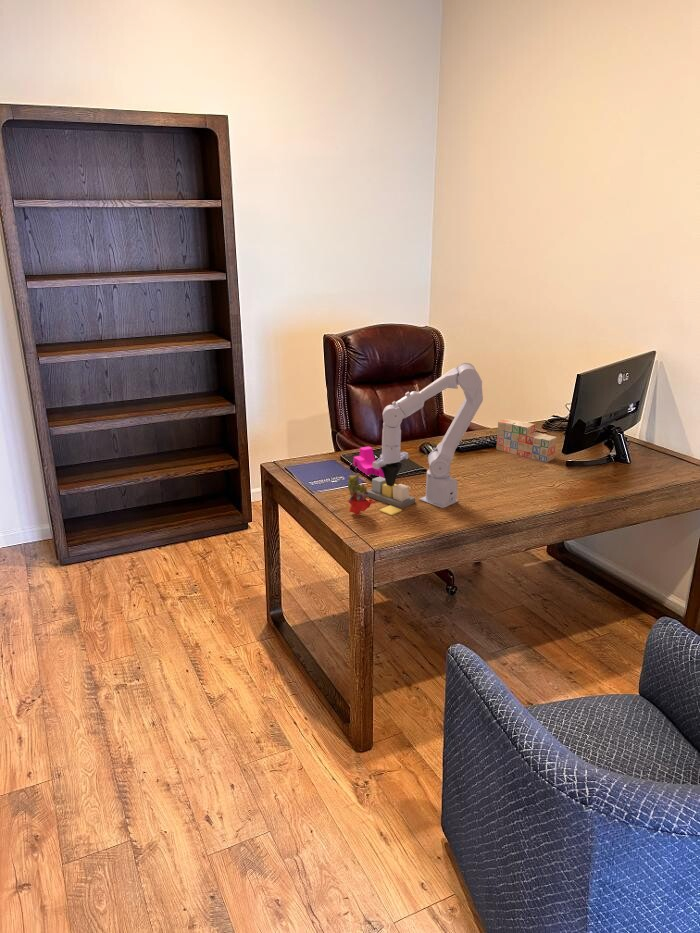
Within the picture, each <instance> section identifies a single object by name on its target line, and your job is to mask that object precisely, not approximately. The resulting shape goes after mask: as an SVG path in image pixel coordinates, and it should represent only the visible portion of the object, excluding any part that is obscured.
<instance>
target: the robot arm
mask: <svg viewBox="0 0 700 933" xmlns="http://www.w3.org/2000/svg"><path fill="white" fill-rule="evenodd" d="M459 386H460V388H461V389H462V391H463V395H464V400H463V402H462V403H461V405H460V407H459V409H458V411H457V412H456V414H455V416H454V418H453V419H452V422H451V424H450V426H449V427H448V429H447V431H446V433H445V434H444V436H443V437H442V440H441V441H440V442H439V443H438V444H437V446H436V447H435V449H433V450H432V451H431V452H430V453H429V454H428V456H427V462H428V466H429V468H428V469H427V471H426V481H425V496H422V497H420V498H419V501H421V502H425V503H427V504H430V505H433V506H435V507H437V508H438V507H439V508H441V509H445V508H446V507H449V506H451V505H453V504H456V503H458V502H459V500H458V498H457V497H458V480H456V478H454V477H453V476H451V472H450V470H451V464H452V461H453V460H454V456H455V451H456V449H457V448H458V446H459V444H460V443H461V441H462V439H463V437H464V435H465V434H466V432H467V431H468V428H469V426H470V424H471V423H472V421H473V420H474V417H475V415H476V414H477V412H478V410H479V409H480V406H481V405H482V403H483V400H484V396H483V381H482V379H481V376H480V374H479V372H477V370H476V368H475V366H474V365H473V364H472V363H469V362H463V363H460V364H459V365H457V367H456V366H455V367H453V368H451V369H449V370H448V371H447V372H446V373H444V374H442V375H441V376H440V377H439V378H437V379H435V380H434V381H433V382H431V383H429V384H428V385H427V386H425V387H423V388H422V389H421V390H420V391H416V390H413V391H411V392H410V391H407V392H405V394H404V396H403V397H401V398H400V399H398V400H397V401H395V400H393V401H392V402H391V404H388V405H386V406H385V407H384V408H383V411H382V413H381V414H382V421H383V423H382V436H381V453H380V455H379V458H378V459H375V460H376V461H375V462H373V468H374V469H379V468H381V469H382V471H383V473H384V476H385V480H386V484H387V485H389V486H393V485H394V484H396V483H395V482H396V480H397V477H398V476H397V475H398V474H399V471H400V470H401V468H403V464H402V462H401V461H402V460H408V459H409V452H406V451H401V446H402V444H401V441H402V430H401V423H402V422H403V419H407V418H408V417H409V416H411V415H413V414H414V413H416V412H417V411H419V410H421V409H422V408H424V405H425V402H426V401H427V400H430V398H433V397H434V396H436V395H438V394H439V393H441V392H443V391H445V390H447V389H456V390H458V389H459Z"/></svg>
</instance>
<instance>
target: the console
mask: <svg viewBox="0 0 700 933" xmlns="http://www.w3.org/2000/svg"><path fill="white" fill-rule="evenodd" d="M366 490H367V492H368V495H367V497H368V498H371V499H372V500H375V501H378V502H382V503H384V504H387V505H388V506H389V505H391V506H393V507H396V508H399V509H401V510H402V509H403V508H406V507H408V506H410V505H412V504H414V503H415V504H416V497H414V496H411V495H409V499H406V500H404V501H402V502H401V501H398V500H396V499H393V497H391V498H390V497H387V496H384V495H382V493H381V494H379V493H377V492H374V491H372V488H369V489H366Z"/></svg>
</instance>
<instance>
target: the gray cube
mask: <svg viewBox="0 0 700 933" xmlns="http://www.w3.org/2000/svg"><path fill="white" fill-rule="evenodd" d="M383 484H386V480H385V478H383V477H380V476H379V477H374V478H372V479H371V489H372V491H374V492H377V493H379V494H381V493H382V485H383Z"/></svg>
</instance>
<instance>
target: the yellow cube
mask: <svg viewBox="0 0 700 933" xmlns="http://www.w3.org/2000/svg"><path fill="white" fill-rule="evenodd" d="M396 485H398V484H397V483H394V485H393V486H396ZM393 486H389V485H387V484H383V485H382V495H384V496H387V497H390V498H391V497H393Z"/></svg>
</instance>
